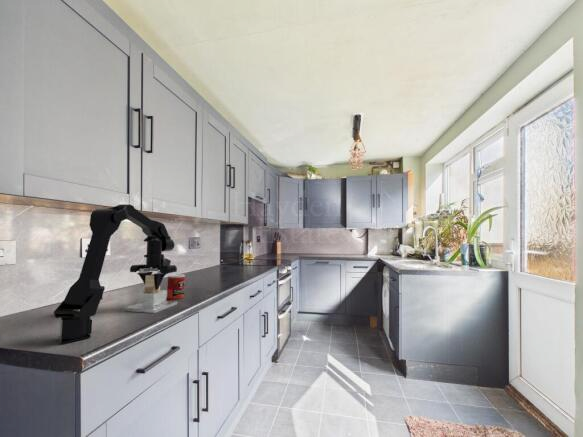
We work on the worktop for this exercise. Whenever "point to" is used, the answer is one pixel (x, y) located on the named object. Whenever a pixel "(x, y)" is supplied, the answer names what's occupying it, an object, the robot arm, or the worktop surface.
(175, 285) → the canned food
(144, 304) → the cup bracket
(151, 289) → the rail end
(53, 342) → the worktop surface
